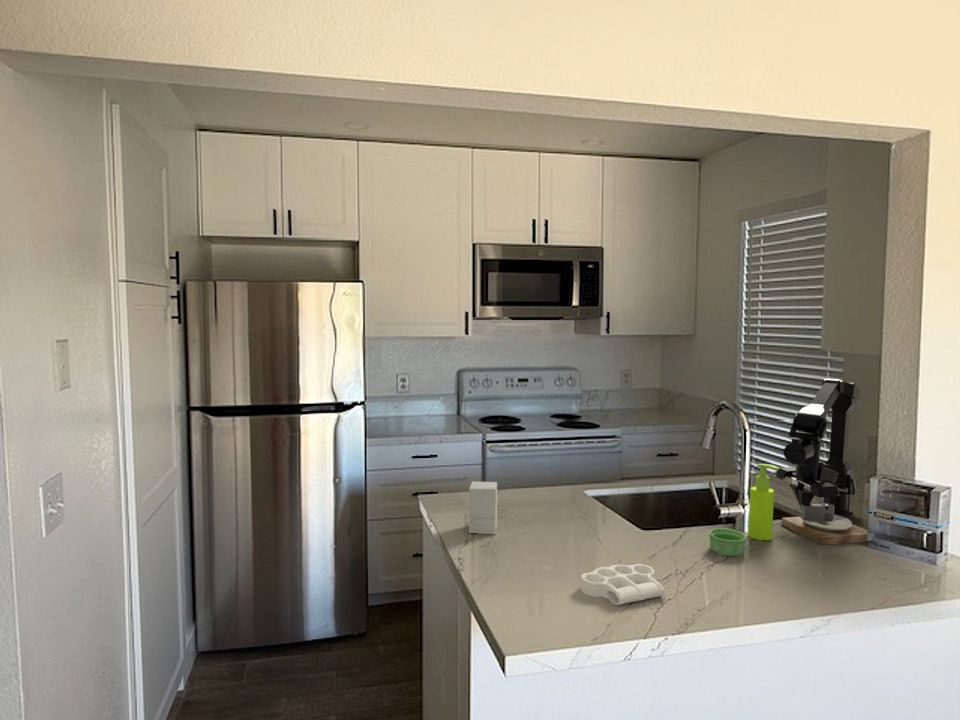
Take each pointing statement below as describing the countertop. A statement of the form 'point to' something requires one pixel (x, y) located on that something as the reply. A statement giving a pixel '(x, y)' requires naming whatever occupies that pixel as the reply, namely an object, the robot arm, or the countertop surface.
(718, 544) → the ramekin
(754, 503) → the soap dispenser
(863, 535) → the dial base
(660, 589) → the white brass knuckles
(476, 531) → the supplement box
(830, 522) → the dial
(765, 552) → the countertop surface
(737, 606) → the countertop surface
